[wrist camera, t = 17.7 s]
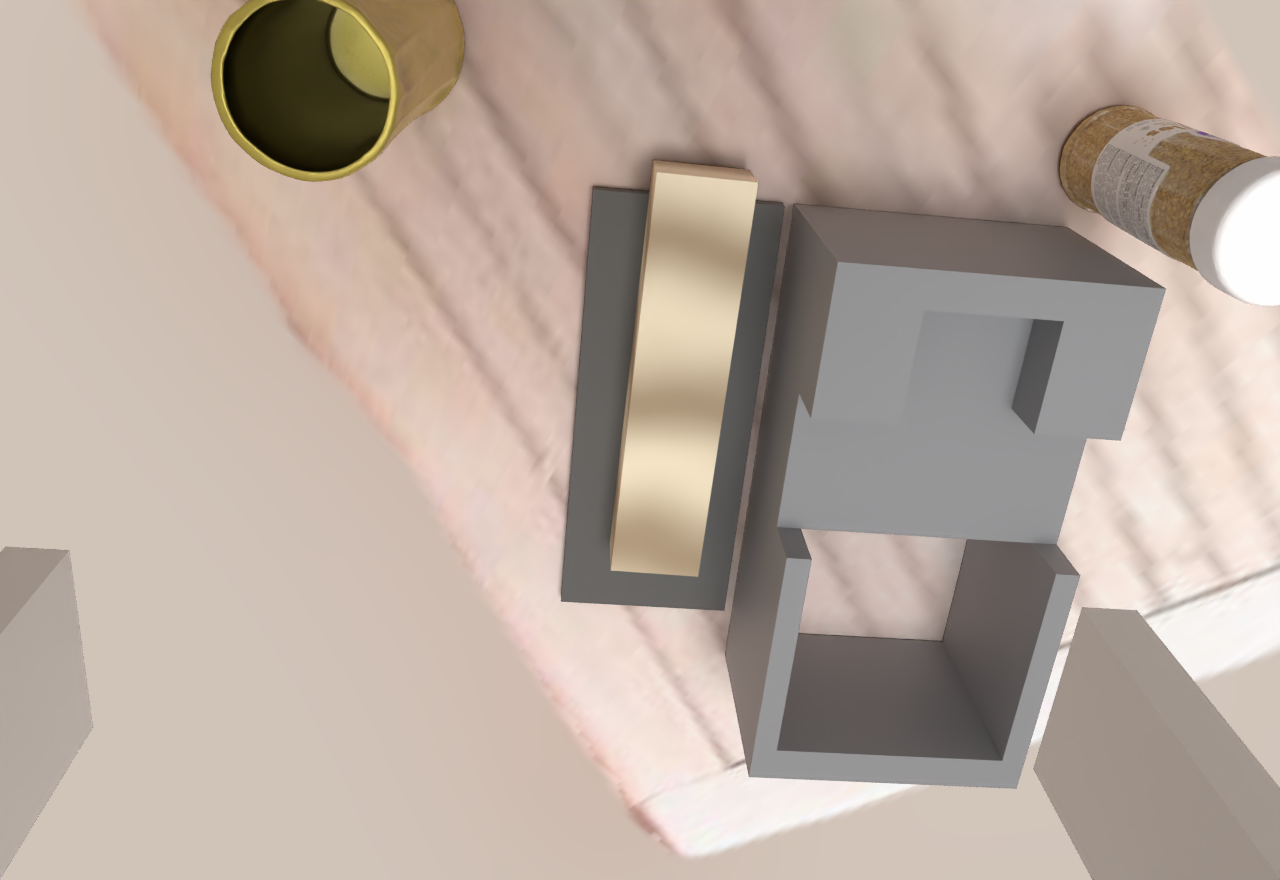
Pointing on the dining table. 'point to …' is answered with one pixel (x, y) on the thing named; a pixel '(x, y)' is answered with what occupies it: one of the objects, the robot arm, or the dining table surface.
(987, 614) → the pocket block
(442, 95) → the vase
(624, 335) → the rubber mat
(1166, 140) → the sprinkles bottle
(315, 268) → the dining table surface
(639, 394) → the birch bar
